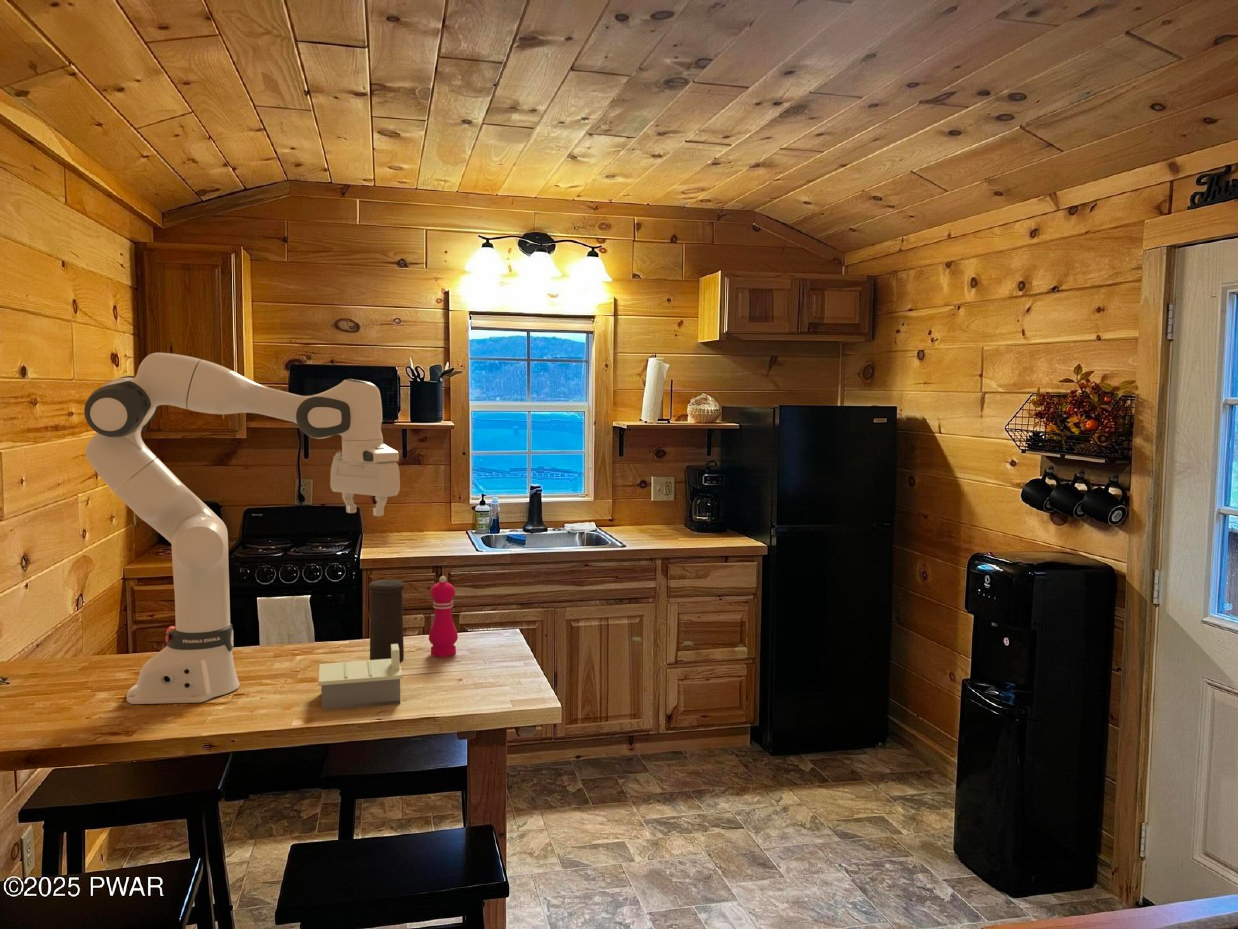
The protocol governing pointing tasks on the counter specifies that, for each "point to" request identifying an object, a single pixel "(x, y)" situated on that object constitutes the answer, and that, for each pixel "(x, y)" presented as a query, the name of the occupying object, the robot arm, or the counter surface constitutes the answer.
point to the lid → (362, 670)
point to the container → (386, 618)
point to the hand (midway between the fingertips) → (364, 514)
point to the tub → (360, 694)
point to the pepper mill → (443, 620)
